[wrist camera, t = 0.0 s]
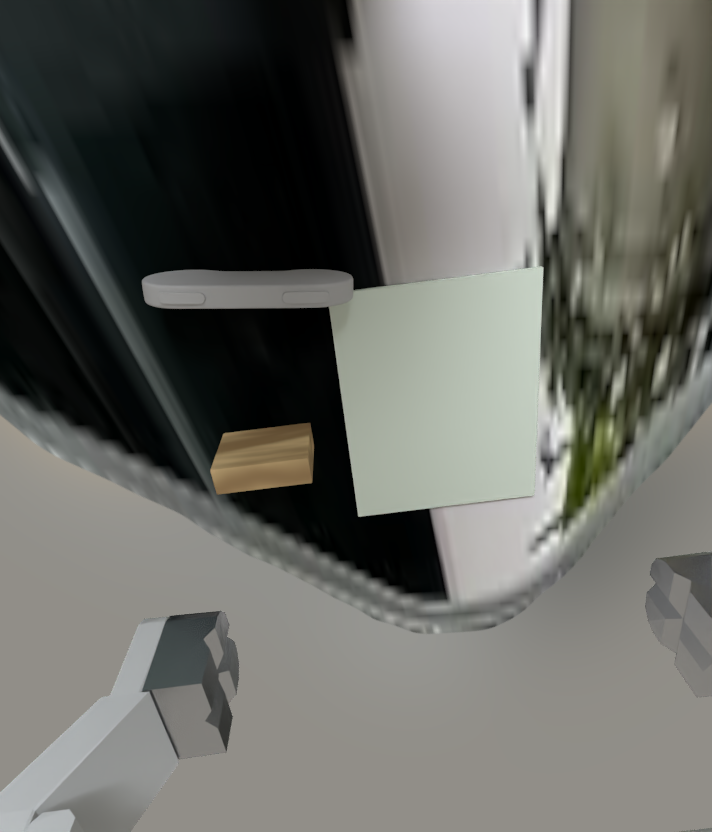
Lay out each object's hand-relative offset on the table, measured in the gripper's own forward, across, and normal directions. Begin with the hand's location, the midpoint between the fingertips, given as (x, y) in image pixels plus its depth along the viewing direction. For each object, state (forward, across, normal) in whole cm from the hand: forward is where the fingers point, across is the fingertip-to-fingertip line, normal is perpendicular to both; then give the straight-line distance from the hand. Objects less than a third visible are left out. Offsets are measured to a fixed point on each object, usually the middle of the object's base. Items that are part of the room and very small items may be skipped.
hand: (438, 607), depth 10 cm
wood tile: (+48, +12, +21) cm, 54 cm away
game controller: (+48, +10, +3) cm, 49 cm away
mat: (+48, -8, +19) cm, 52 cm away
